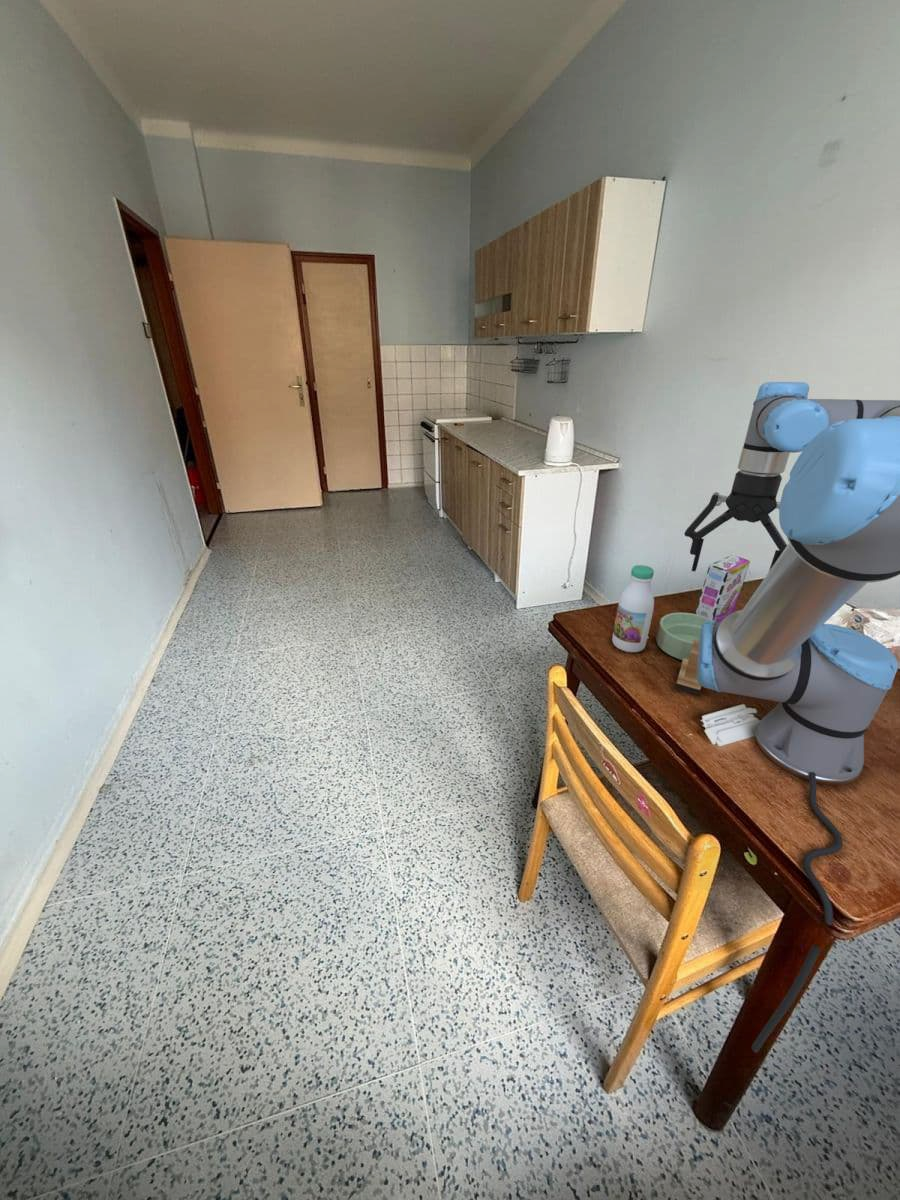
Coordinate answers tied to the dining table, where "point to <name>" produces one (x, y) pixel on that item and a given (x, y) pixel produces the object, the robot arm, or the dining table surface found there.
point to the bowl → (679, 633)
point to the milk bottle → (634, 611)
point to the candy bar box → (722, 587)
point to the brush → (689, 672)
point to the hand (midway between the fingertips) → (729, 575)
